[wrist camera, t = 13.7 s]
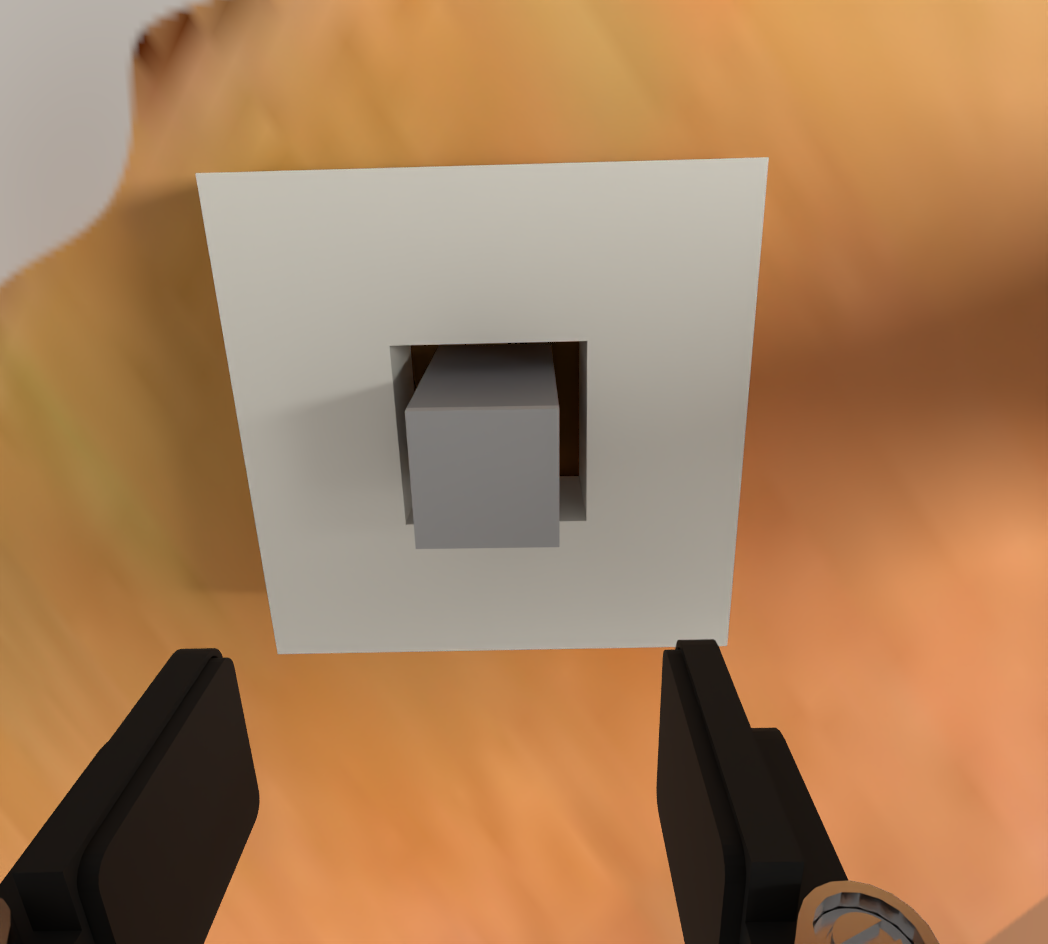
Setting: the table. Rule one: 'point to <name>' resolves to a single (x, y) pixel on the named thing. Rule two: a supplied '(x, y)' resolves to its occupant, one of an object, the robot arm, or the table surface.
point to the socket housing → (492, 317)
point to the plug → (485, 448)
